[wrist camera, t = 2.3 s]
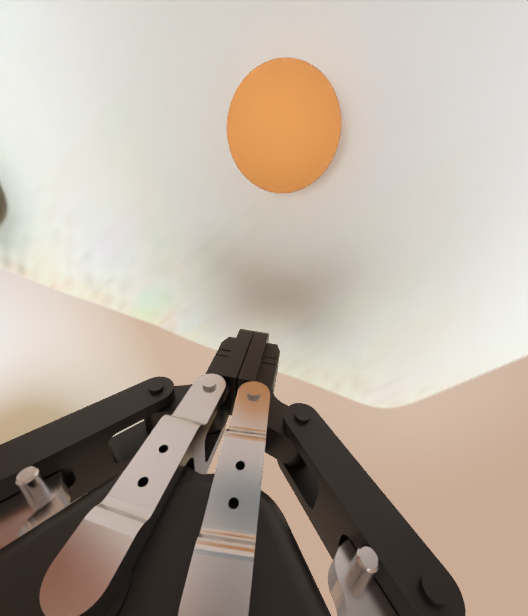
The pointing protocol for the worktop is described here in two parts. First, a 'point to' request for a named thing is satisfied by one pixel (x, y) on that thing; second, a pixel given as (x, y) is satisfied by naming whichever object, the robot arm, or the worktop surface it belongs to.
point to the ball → (284, 125)
